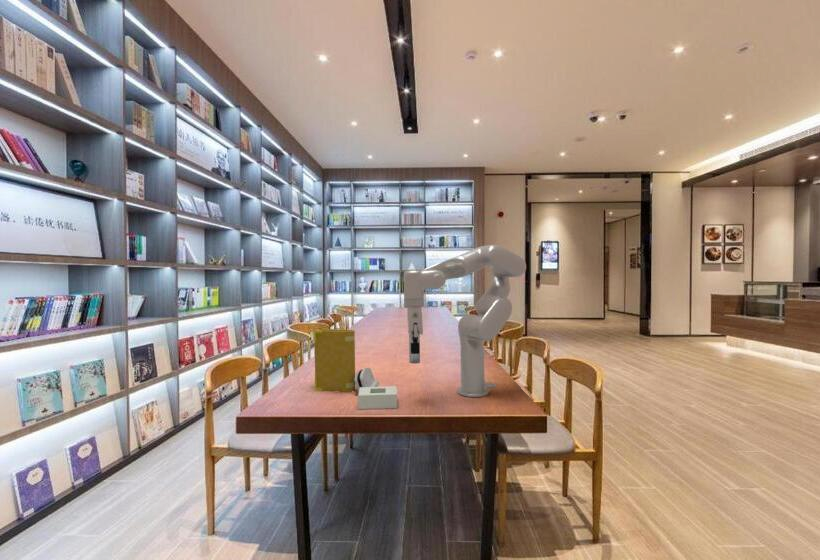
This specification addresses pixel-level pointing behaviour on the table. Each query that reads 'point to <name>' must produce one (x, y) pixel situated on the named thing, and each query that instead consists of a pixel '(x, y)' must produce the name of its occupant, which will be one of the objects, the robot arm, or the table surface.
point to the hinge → (365, 379)
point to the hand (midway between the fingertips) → (414, 351)
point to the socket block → (377, 397)
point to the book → (334, 360)
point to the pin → (413, 357)
